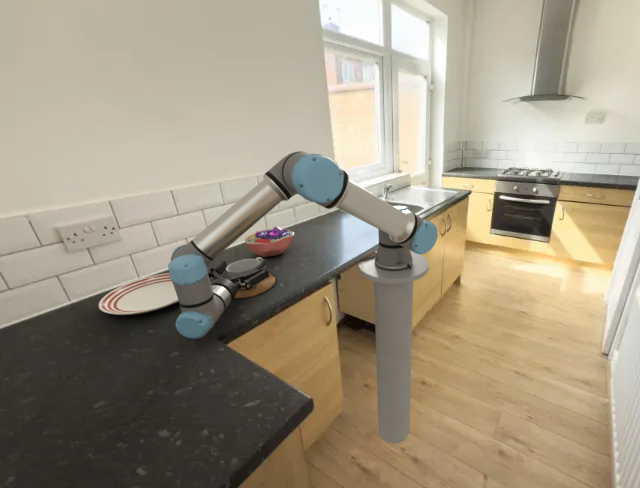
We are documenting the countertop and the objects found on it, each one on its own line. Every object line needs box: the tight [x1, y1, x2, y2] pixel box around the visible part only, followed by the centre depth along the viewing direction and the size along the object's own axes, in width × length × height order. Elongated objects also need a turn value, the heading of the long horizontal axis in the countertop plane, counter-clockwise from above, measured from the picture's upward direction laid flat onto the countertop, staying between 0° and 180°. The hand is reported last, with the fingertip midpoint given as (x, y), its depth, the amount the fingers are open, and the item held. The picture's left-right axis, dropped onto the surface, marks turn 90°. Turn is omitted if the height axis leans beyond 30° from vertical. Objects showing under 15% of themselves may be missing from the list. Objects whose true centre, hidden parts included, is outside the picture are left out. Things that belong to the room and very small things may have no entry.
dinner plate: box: [98, 272, 179, 316], centre depth 103 cm, size 27×27×3 cm
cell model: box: [244, 226, 295, 258], centre depth 134 cm, size 17×20×11 cm
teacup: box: [225, 256, 264, 289], centre depth 110 cm, size 14×11×8 cm
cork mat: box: [234, 273, 276, 299], centre depth 111 cm, size 18×18×1 cm
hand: (245, 263), depth 109 cm, fingers open, 13 cm apart
